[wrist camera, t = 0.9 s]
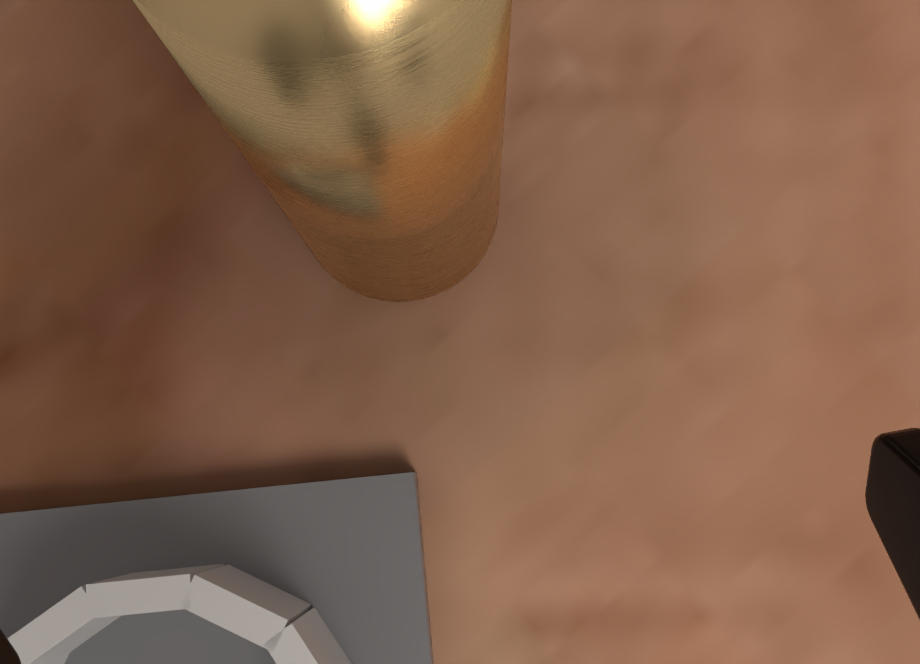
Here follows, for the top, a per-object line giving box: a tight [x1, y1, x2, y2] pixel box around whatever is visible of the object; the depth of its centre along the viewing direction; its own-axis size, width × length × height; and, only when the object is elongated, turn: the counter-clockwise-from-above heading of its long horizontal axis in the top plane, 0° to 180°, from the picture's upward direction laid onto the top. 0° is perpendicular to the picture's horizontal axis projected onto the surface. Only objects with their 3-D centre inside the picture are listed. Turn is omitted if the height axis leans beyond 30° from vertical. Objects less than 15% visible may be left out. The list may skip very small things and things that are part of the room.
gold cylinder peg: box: [133, 0, 512, 302], centre depth 17 cm, size 5×5×13 cm
